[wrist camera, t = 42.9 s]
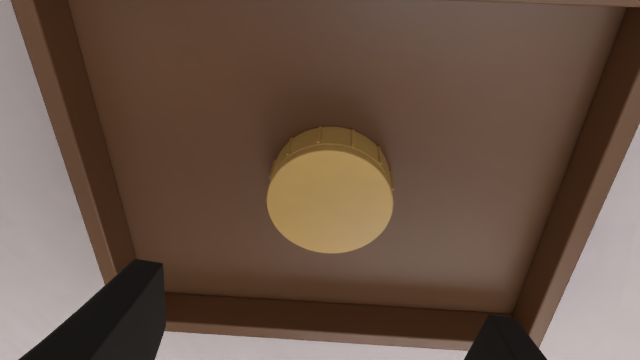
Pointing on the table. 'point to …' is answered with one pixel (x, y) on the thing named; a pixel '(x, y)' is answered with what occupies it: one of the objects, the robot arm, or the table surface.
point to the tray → (352, 113)
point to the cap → (330, 190)
